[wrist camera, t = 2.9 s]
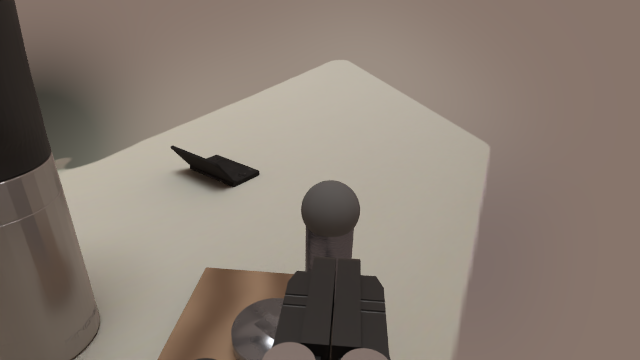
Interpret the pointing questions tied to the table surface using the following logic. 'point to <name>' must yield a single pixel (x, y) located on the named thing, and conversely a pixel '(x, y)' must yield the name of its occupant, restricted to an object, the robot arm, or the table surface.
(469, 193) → the table surface
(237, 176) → the handheld gaming console
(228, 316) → the walnut stand base
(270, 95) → the table surface
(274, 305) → the grey upright post stand
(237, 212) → the table surface
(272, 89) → the table surface
